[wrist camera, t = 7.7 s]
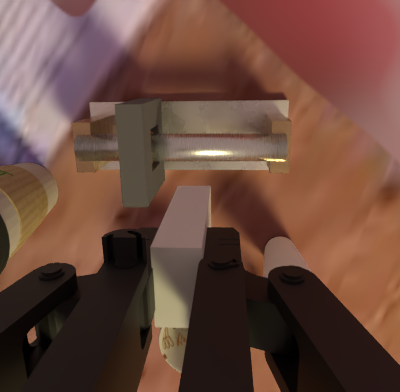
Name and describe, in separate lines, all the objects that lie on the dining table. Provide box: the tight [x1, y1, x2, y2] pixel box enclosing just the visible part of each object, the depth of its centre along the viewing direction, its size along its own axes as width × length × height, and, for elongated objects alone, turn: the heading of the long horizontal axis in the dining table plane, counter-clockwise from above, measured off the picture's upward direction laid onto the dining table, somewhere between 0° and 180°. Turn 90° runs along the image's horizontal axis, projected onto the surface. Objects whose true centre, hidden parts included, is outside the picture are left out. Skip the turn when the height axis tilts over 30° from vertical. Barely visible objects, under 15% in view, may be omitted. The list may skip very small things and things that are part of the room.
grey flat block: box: [115, 98, 165, 207], centre depth 33 cm, size 2×8×8 cm, turn 1°
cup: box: [264, 237, 312, 278], centre depth 37 cm, size 5×5×12 cm
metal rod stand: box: [72, 100, 292, 173], centre depth 36 cm, size 20×7×8 cm, turn 91°
